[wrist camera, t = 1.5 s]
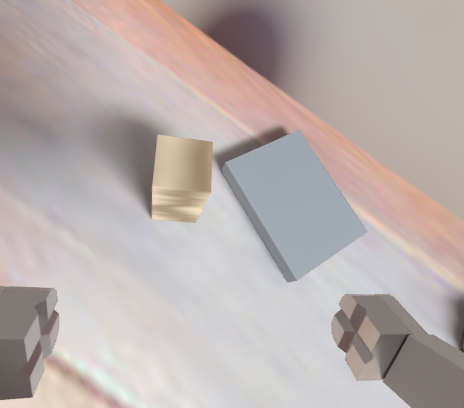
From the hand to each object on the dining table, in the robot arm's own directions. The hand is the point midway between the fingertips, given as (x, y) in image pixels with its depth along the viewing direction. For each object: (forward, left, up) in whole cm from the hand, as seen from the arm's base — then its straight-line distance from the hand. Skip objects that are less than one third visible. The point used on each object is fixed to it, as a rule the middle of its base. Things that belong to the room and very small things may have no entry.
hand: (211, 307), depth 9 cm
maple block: (-10, +7, -25) cm, 28 cm away
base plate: (-3, +20, -26) cm, 32 cm away
